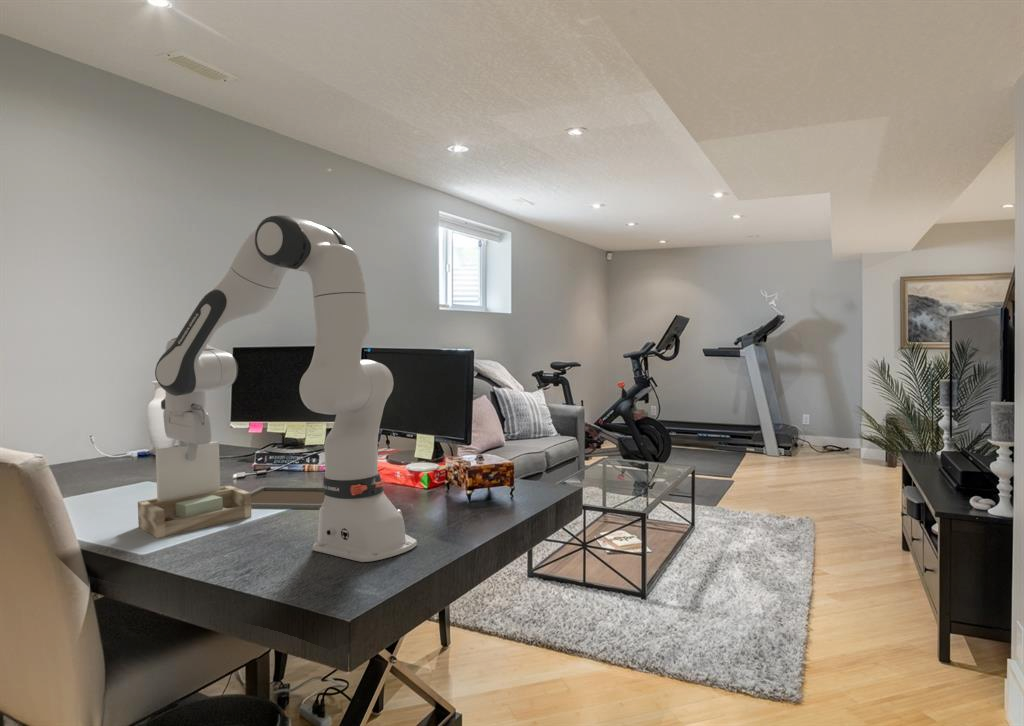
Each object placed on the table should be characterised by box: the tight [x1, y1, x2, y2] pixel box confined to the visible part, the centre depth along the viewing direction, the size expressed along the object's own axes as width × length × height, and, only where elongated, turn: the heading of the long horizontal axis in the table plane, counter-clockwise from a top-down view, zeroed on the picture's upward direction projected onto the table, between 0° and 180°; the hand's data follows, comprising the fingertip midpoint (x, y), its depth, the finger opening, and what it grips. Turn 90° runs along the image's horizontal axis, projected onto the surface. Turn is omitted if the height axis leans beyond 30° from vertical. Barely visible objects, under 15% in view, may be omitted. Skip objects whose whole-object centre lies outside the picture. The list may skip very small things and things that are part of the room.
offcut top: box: [176, 495, 223, 518], centre depth 147 cm, size 4×9×3 cm, turn 146°
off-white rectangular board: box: [155, 441, 221, 502], centre depth 150 cm, size 2×14×18 cm, turn 138°
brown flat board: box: [249, 485, 325, 510], centre depth 169 cm, size 19×2×30 cm
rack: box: [137, 484, 252, 539], centre depth 148 cm, size 13×21×6 cm, turn 138°
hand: (188, 459), depth 150 cm, fingers closed on off-white rectangular board, 2 cm apart
